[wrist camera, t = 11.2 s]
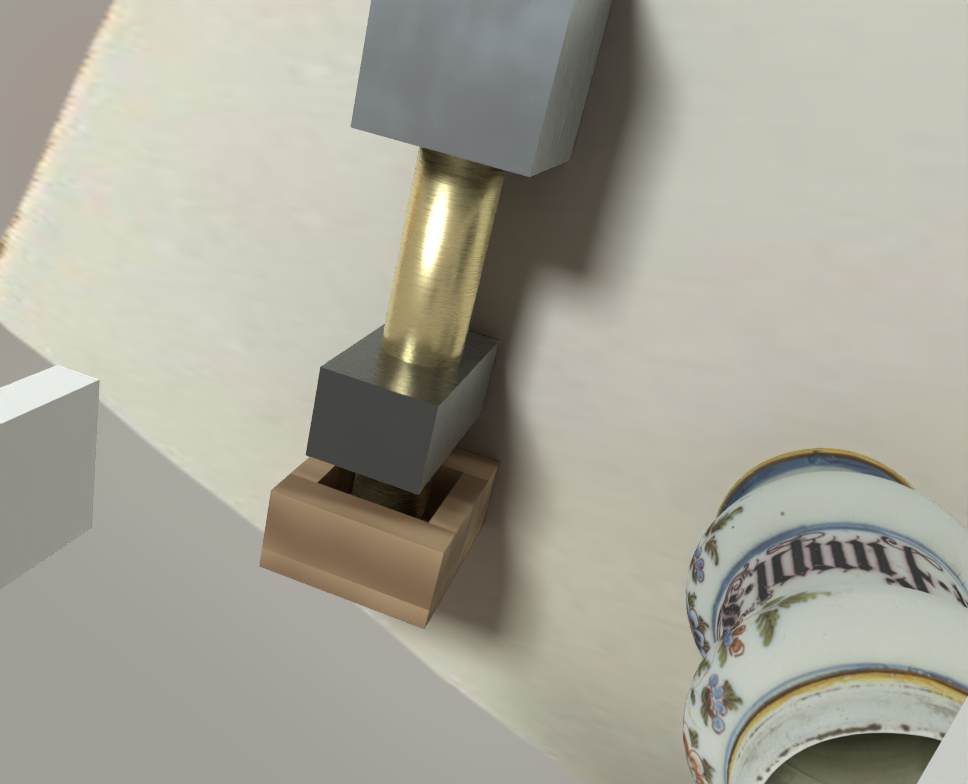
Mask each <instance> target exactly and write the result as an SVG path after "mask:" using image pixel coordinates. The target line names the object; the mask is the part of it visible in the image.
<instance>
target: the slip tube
mask: <svg viewBox="0 0 968 784" xmlns="http://www.w3.org/2000/svg"><path fill="white" fill-rule="evenodd" d="M505 173H506V170H502V169H498V168H495V167H491V166H488V165H484V164H480V163H477V162H473V161H470V160H466V159H463V158H459V157H455V156H452V155H448V154H445V153H441V152H438V151H434V150H430V149H427V148H423V147H419V153H418V158H417V163H416V168H415V173H414V178H413V183H412V188H411V193H410V198H409V204H408V209H407V214H406V219H405V224H404V229H403V234H402V239H401V244H400V250H399V255H398V260H397V265H396V270H395V275H394V280H393V285H392V290H391V296H390V301H389V306H388V311H387V316H386V321H385V324H384V325H383V326H381V327H380V328H378V329H377V330H375V331H374V332H372V333H371V334H369V335H368V336H366V337H365V338H363V339H362V340H360V341H359V342H357V343H356V344H354V345H353V346H351V347H350V348H348V349H347V350H345V351H344V352H342V353H341V354H339V355H338V356H336V357H335V358H333V359H332V360H330V361H329V362H327V363H326V364H324V365H323V366H321V367H320V373H319V379H318V385H317V391H316V397H315V403H314V409H313V415H312V421H311V427H310V433H309V439H308V445H307V451H306V455H307V456H310V457H312V458H315V459H318V460H321V461H324V462H327V463H329V464H332V465H335V466H338V467H341V468H344V469H346V470H349V471H352V472H355V473H356V474H355V479H354V485H353V490H352V495H353V496H355V497H358V498H361V499H364V500H367V501H369V502H372V503H375V504H378V505H380V506H383V507H386V508H389V509H392V510H394V511H397V512H400V513H403V514H406V515H408V516H411V517H414V518H417V519H420V520H422V521H423V518H424V514H425V510H426V506H427V501H428V497H429V493H430V489H431V485H432V480H433V476H434V474H435V472H436V471H437V470H438V469H439V467H440V466H441V465H442V463H443V462H444V461H445V459H446V458H447V457H448V456H449V454H450V453H451V452H452V450H453V449H454V448H455V447H456V445H457V444H458V443H459V441H460V440H461V439H462V437H463V436H464V435H465V434H466V432H467V431H468V430H469V428H470V427H471V426H472V425H473V423H474V422H475V421H476V419H477V418H478V417H479V415H480V414H481V412H482V408H483V404H484V400H485V396H486V392H487V388H488V384H489V380H490V376H491V372H492V369H493V365H494V361H495V357H496V353H497V349H498V345H499V341H500V340H496V339H493V338H490V337H487V336H484V335H481V334H477V333H474V332H471V331H468V329H469V324H470V320H471V316H472V312H473V307H474V303H475V299H476V295H477V291H478V286H479V282H480V278H481V274H482V270H483V265H484V261H485V257H486V253H487V248H488V244H489V240H490V236H491V232H492V227H493V223H494V219H495V215H496V210H497V206H498V202H499V198H500V194H501V189H502V185H503V181H504V177H505Z"/></svg>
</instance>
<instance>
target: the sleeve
mask: <svg viewBox="0 0 968 784" xmlns="http://www.w3.org/2000/svg"><path fill="white" fill-rule="evenodd" d="M611 4H612V0H371V6H370V12H369V18H368V24H367V31H366V37H365V43H364V49H363V55H362V61H361V67H360V73H359V80H358V86H357V92H356V98H355V104H354V110H353V116H352V122H351V127H352V128H355V129H359V130H362V131H366V132H370V133H373V134H377V135H380V136H384V137H388V138H391V139H395V140H398V141H402V142H405V143H409V144H413V145H416V146H420V147H423V148H427V149H430V150H434V151H438V152H441V153H445V154H448V155H452V156H455V157H459V158H463V159H466V160H470V161H473V162H477V163H480V164H484V165H488V166H491V167H495V168H498V169H502V170H506V171H509V172H513V173H516V174H520V175H523V176H527V177H531V176H534V175H536V174H539V173H541V172H543V171H546V170H548V169H551V168H553V167H555V166H558V165H560V164H563V163H565V162H568V161H570V158H571V155H572V151H573V147H574V143H575V140H576V136H577V132H578V128H579V124H580V121H581V117H582V113H583V109H584V106H585V102H586V98H587V94H588V91H589V87H590V83H591V79H592V75H593V72H594V68H595V64H596V60H597V57H598V53H599V49H600V45H601V42H602V38H603V34H604V30H605V26H606V23H607V19H608V15H609V11H610V8H611Z"/></svg>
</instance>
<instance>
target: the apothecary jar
mask: <svg viewBox="0 0 968 784" xmlns="http://www.w3.org/2000/svg"><path fill="white" fill-rule="evenodd" d="M686 605H687V614H688V619H689V624H690V628H691V631H692V634H693V637H694V640H695V643H696V645H697V647H698V649H699V651H700V653H701V655H702V657H703V660H702V662H701V663H700V665H699V667H698V669H697V671H696V673H695V675H694V678H693V680H692V683H691V686H690V689H689V692H688V696H687V700H686V705H685V710H684V719H683V740H684V746H685V752H686V758H687V762H688V765H689V768H690V771H691V774H692V777H693V779H694V782H695V784H917V783H918V781H919V779H920V777H921V776H922V774H923V772H924V771H925V769H926V767H927V765H928V764H929V762H930V760H931V759H932V757H933V755H934V753H935V752H936V750H937V748H938V747H939V745H940V743H941V741H942V740H943V738H944V736H945V735H946V733H947V731H948V729H949V728H950V726H951V724H952V722H953V721H954V719H955V717H956V716H957V714H958V712H959V710H960V709H961V707H962V705H963V704H964V702H965V700H966V698H967V697H968V532H967V531H966V530H965V529H964V528H963V526H962V525H961V524H960V523H959V522H958V521H957V520H956V519H955V518H954V517H953V516H952V515H950V514H949V513H948V512H947V511H946V510H945V509H943V508H942V507H941V506H939V505H938V504H936V503H935V502H933V501H932V500H930V499H929V498H927V497H926V496H924V495H922V494H920V493H918V492H917V491H916V490H915V489H914V488H913V487H912V486H911V485H910V484H909V483H908V482H907V481H906V480H905V479H903V478H902V477H901V476H900V475H898V474H897V473H896V472H895V471H893V470H892V469H890V468H888V467H887V466H885V465H883V464H881V463H880V462H878V461H875V460H873V459H871V458H869V457H866V456H863V455H860V454H857V453H854V452H850V451H845V450H838V449H824V448H816V449H805V450H799V451H794V452H790V453H786V454H783V455H780V456H777V457H774V458H772V459H770V460H768V461H766V462H763V463H761V464H759V465H758V466H756V467H755V468H753V469H752V470H750V471H749V472H748V473H746V474H745V475H744V476H743V477H742V478H741V479H739V480H738V481H737V482H736V484H735V485H734V486H733V488H732V489H731V490H730V491H729V493H728V494H727V496H726V498H725V499H724V501H723V503H722V504H721V506H720V509H719V511H718V514H717V518H716V520H715V521H714V522H713V523H712V524H711V526H710V527H709V528H708V530H707V531H706V533H705V534H704V536H703V537H702V539H701V541H700V543H699V545H698V547H697V549H696V551H695V553H694V555H693V558H692V561H691V564H690V568H689V573H688V579H687V585H686Z"/></svg>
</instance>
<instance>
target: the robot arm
mask: <svg viewBox="0 0 968 784" xmlns="http://www.w3.org/2000/svg"><path fill="white" fill-rule="evenodd" d="M98 398H99V379H96V378H93V377H90V376H88V375H85V374H82V373H79V372H76V371H73V370H71V369H68V368H65V367H62V366H59V365H56V366H54V367H51V368H49V369H46V370H44V371H41V372H39V373H36V374H34V375H31V376H29V377H26V378H24V379H21V380H19V381H16V382H14V383H11V384H9V385H6V386H4V387H1V388H0V589H1V588H3V587H4V586H6V585H7V584H9V583H10V582H12V581H13V580H15V579H16V578H18V577H19V576H21V575H22V574H23V573H25V572H27V571H28V570H30V569H31V568H33V567H34V566H36V565H37V564H39V563H40V562H41V561H43V560H45V559H46V558H47V557H49V556H51V555H52V554H53V553H55V552H56V551H58V550H59V549H61V548H62V547H64V546H65V545H67V544H68V543H70V542H71V541H73V540H74V539H76V538H77V537H79V536H80V535H82V534H83V533H85V532H86V531H88V530H89V529H91V528H92V514H93V495H94V474H95V455H96V435H97V418H98ZM917 784H968V697H967V698H966V700H965V702H964V704H963V705H962V707H961V709H960V710H959V712H958V714H957V716H956V717H955V719H954V721H953V722H952V724H951V726H950V728H949V729H948V731H947V733H946V735H945V736H944V738H943V740H942V741H941V743H940V745H939V747H938V748H937V750H936V752H935V753H934V755H933V757H932V759H931V760H930V762H929V764H928V765H927V767H926V769H925V771H924V772H923V774H922V776H921V777H920V779H919V781H918V783H917Z"/></svg>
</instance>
